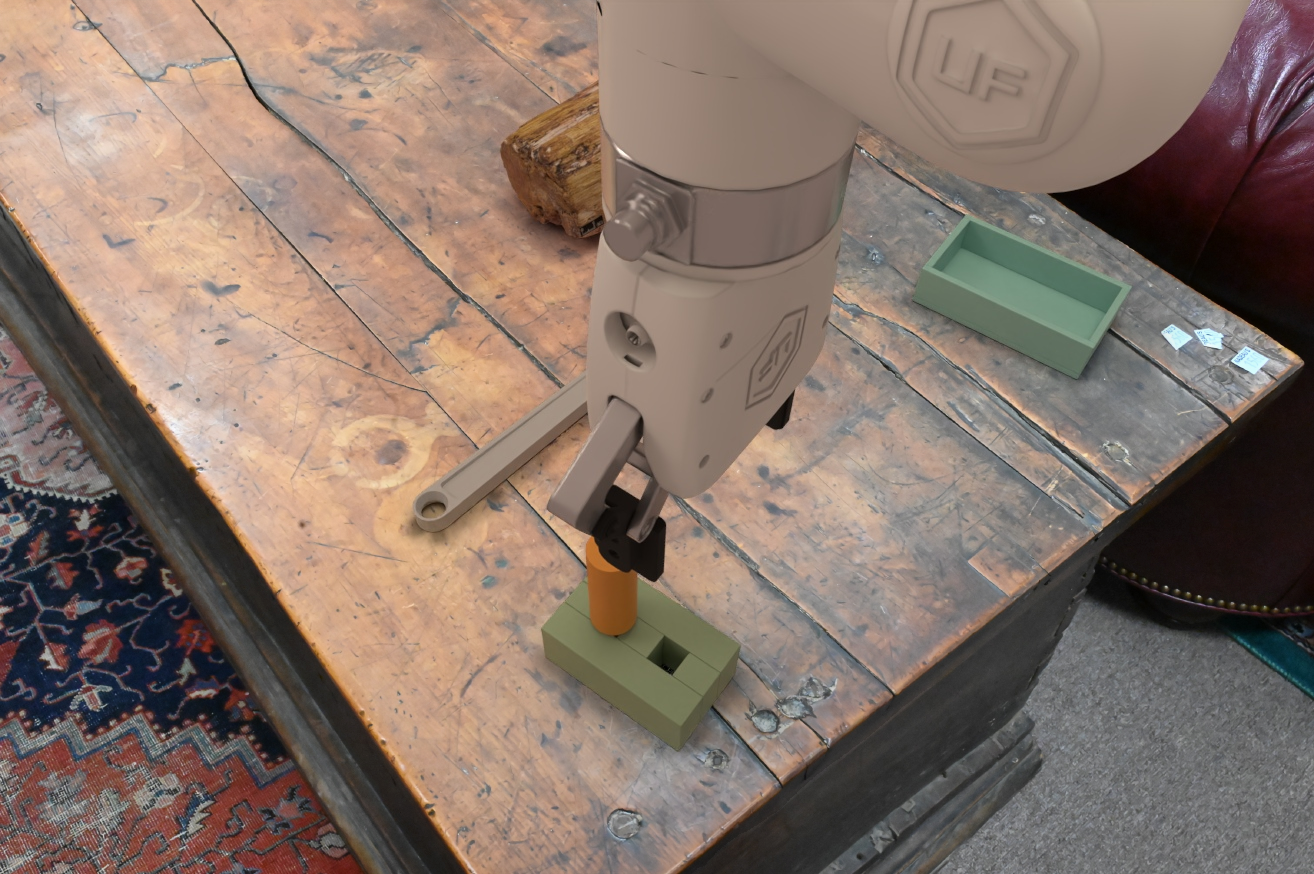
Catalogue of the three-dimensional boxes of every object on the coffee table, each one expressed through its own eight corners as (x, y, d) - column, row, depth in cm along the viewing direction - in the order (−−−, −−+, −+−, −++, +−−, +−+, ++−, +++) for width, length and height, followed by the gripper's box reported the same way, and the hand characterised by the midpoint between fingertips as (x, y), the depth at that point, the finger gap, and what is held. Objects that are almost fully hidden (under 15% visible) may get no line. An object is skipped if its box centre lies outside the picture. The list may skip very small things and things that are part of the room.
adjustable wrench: (432, 541, 68) (428, 527, 67) (379, 483, 71) (374, 468, 70) (700, 356, 78) (701, 341, 77) (645, 311, 81) (645, 296, 80)
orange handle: (645, 643, 64) (648, 544, 54) (618, 676, 62) (616, 581, 53) (610, 619, 65) (606, 518, 55) (583, 651, 63) (574, 553, 54)
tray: (955, 246, 87) (966, 213, 84) (1115, 318, 82) (1132, 286, 79) (911, 300, 83) (921, 268, 80) (1076, 380, 78) (1093, 348, 75)
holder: (605, 586, 66) (604, 555, 63) (735, 672, 63) (741, 644, 60) (544, 656, 63) (540, 627, 60) (678, 752, 60) (681, 726, 56)
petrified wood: (586, 271, 83) (560, 163, 76) (499, 219, 91) (468, 117, 84) (754, 168, 91) (744, 61, 84) (659, 128, 99) (643, 27, 92)
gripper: (658, 395, 25) (648, 679, 39) (962, 74, 34) (866, 399, 47) (435, 268, 28) (499, 577, 41) (770, 0, 36) (732, 329, 50)
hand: (695, 482), depth 44 cm, fingers open, 9 cm apart
